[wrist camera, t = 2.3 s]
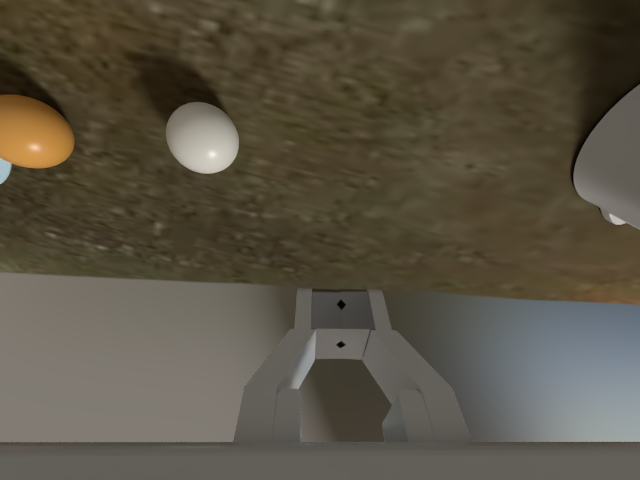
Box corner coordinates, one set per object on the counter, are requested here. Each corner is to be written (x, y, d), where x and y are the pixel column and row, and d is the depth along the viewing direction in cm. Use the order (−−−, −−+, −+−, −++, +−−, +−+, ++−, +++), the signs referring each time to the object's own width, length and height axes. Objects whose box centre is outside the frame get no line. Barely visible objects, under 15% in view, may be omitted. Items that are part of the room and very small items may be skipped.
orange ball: (55, 81, 22) (-8, 95, 18) (103, 146, 25) (59, 172, 21) (-1, 96, 23) (-76, 114, 18) (52, 158, 26) (0, 185, 22)
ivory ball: (230, 88, 22) (209, 103, 18) (253, 152, 26) (241, 177, 21) (169, 103, 23) (136, 121, 19) (200, 163, 26) (178, 190, 22)
